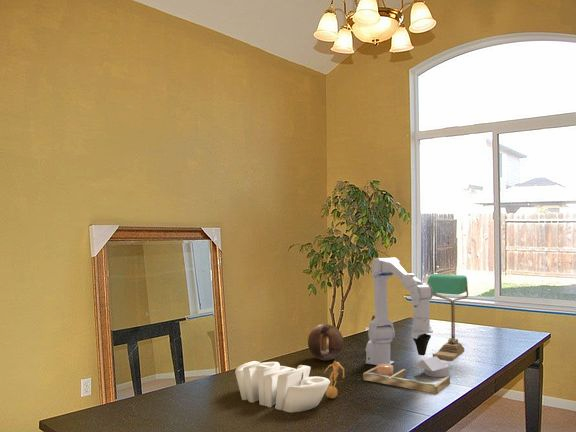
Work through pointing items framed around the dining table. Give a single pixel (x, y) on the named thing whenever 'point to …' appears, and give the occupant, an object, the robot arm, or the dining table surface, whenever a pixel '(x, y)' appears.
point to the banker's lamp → (456, 287)
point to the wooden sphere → (325, 342)
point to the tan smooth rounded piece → (385, 369)
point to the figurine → (331, 390)
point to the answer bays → (405, 381)
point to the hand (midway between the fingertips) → (421, 354)
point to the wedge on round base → (434, 367)
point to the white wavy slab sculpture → (280, 386)
